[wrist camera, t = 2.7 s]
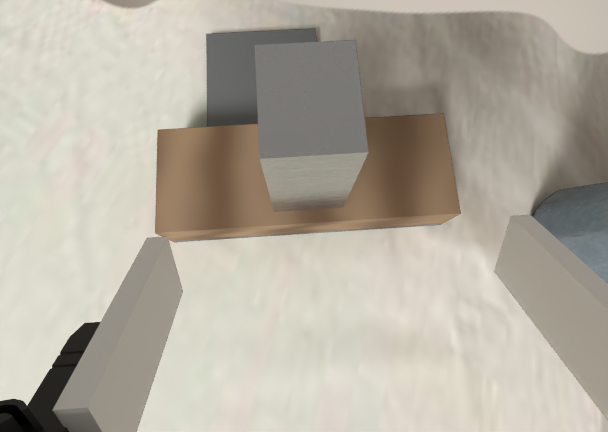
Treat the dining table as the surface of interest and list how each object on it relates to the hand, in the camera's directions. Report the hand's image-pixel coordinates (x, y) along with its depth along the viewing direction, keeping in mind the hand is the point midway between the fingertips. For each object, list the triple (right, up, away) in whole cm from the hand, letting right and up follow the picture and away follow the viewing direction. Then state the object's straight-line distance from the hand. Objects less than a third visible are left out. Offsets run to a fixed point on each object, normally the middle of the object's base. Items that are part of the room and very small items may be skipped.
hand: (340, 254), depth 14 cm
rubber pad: (-5, +13, +19) cm, 24 cm away
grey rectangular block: (-1, +5, +13) cm, 14 cm away
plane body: (-1, +4, +17) cm, 17 cm away
